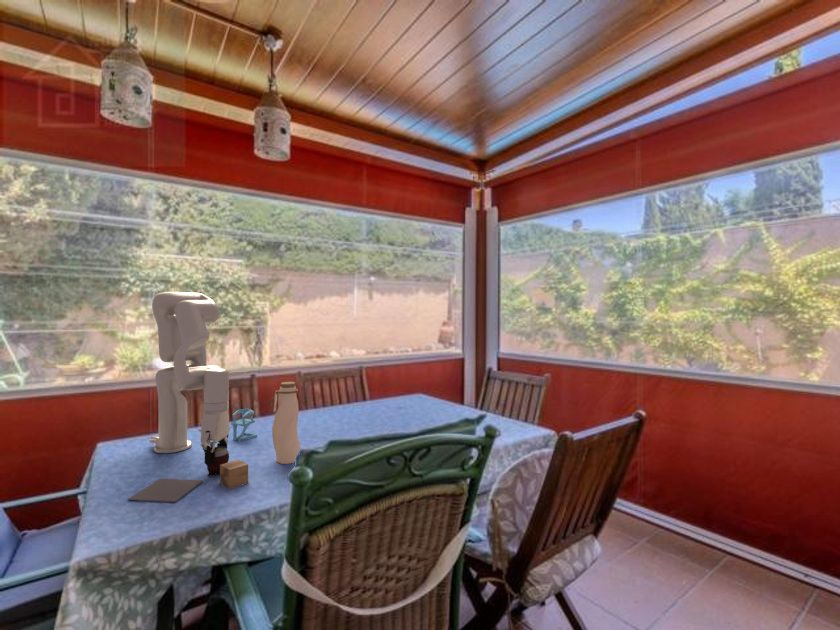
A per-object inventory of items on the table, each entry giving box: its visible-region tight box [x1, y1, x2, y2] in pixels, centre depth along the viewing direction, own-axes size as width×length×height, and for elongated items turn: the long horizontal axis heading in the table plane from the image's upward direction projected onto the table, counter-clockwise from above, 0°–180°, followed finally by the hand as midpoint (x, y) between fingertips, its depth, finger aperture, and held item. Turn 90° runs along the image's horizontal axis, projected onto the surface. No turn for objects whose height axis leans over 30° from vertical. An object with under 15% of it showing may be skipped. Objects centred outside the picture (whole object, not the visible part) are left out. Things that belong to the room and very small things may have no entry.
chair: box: [231, 407, 258, 442], centre depth 176 cm, size 8×8×12 cm
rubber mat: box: [127, 478, 204, 503], centre depth 127 cm, size 14×14×1 cm
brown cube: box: [219, 459, 249, 490], centre depth 133 cm, size 6×6×6 cm
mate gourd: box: [198, 429, 230, 477], centre depth 140 cm, size 8×8×15 cm
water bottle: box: [270, 381, 301, 465], centre depth 152 cm, size 10×9×28 cm
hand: (216, 459), depth 141 cm, fingers closed on mate gourd, 7 cm apart
